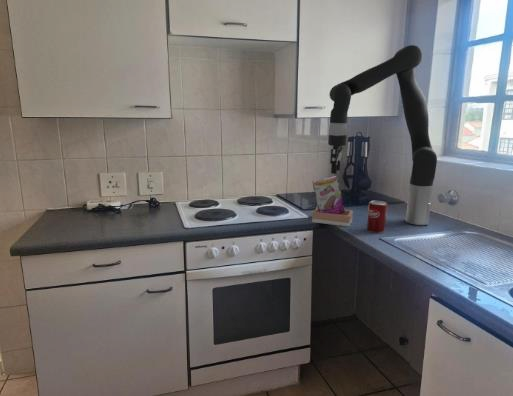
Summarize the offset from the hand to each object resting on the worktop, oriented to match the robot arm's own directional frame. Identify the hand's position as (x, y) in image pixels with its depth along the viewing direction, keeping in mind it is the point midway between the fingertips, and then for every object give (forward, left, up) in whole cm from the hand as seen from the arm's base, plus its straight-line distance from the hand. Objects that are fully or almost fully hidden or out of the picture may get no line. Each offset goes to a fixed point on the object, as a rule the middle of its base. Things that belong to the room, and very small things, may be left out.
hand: (335, 171), depth 164 cm
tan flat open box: (0, 0, -22) cm, 22 cm away
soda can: (-19, +6, -22) cm, 30 cm away
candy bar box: (0, -1, -19) cm, 19 cm away
